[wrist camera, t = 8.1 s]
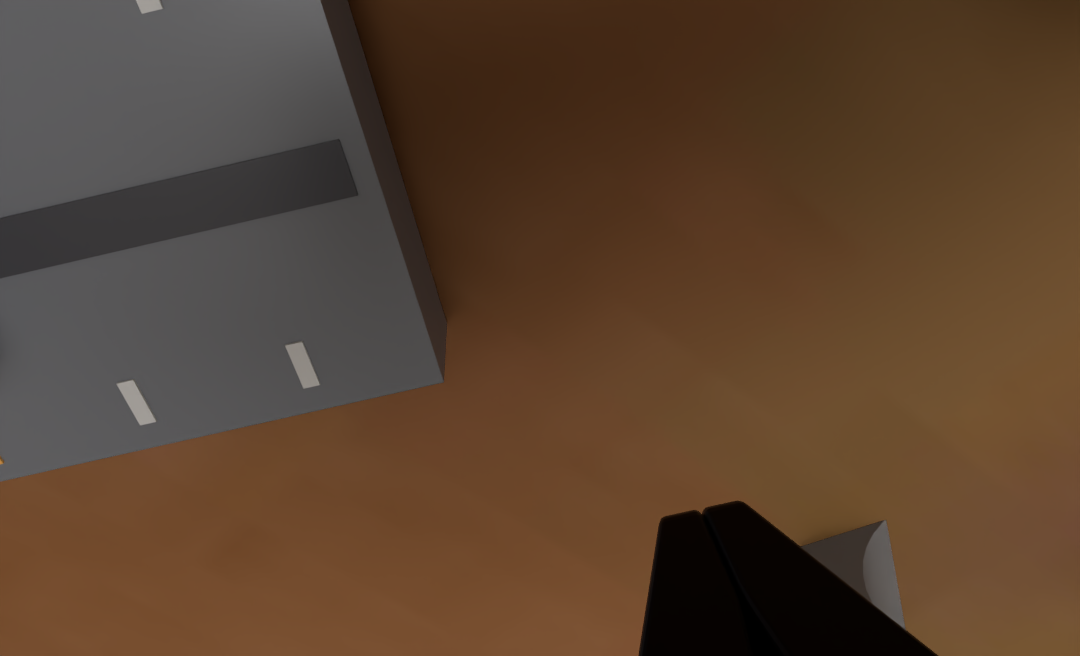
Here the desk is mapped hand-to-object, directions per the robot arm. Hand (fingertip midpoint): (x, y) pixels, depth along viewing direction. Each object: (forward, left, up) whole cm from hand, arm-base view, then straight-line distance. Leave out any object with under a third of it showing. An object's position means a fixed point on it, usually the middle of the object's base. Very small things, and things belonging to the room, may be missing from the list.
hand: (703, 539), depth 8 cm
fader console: (+13, -2, -13) cm, 18 cm away
